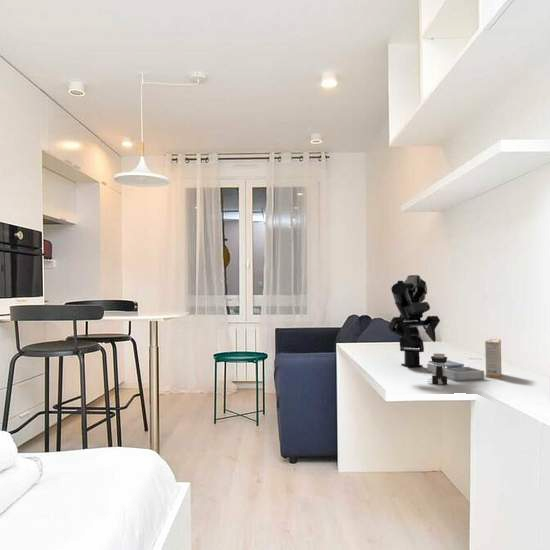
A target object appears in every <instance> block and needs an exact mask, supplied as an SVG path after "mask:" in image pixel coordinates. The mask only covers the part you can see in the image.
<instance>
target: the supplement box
mask: <svg viewBox="0 0 550 550" xmlns="http://www.w3.org/2000/svg"><path fill="white" fill-rule="evenodd" d="M484 343H485V347H484V348H485V350H484V351H485V352H484V353H485V355H484V356H485V376H486V377H487V378H496V379H499V378H501V376H502V340H501V339H500V338H499V339H497V338H487V339H486V340H485V341H484Z"/></svg>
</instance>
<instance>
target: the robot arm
mask: <svg viewBox="0 0 550 550" xmlns="http://www.w3.org/2000/svg"><path fill="white" fill-rule="evenodd" d="M390 289H391V294H392V296H393V299H394V304H395V306H396V309H397V310H398V312H399V314H400V315H399V316H393V317H392V318H391V320H390V322H389V324H388V329H389V331H390V332H391V333H394V334H396V335H398V336H399V351H400V352H403V353H404V354H403V355H404V363H401V366H403V367H407V368H421V367H424V366H423V364H421V363H420V362H421V360H420V359H421V357H420V353H425V348H424V347H425V346H424V340H423V339H422V337H421V334H420V330H419V329H418V328H419V327H422V328H423V329H424V330H425V331H424V332H425V334H426V335H427V336H428V338H430V340H431V341H432V342H434V343H435V342H436V340H437V339H436V328H437V326H438V325H439V324H440V323H441V320H440V318H439V316H438V315H427V316H426V318H425V319H423V320H422V318H423V317H424V315H423V314H424V313H427V312H428V311H430V309H431V306H430V304H429V302H428V301H425V299H426V295H428V286H427V283H426V281H425V280H423V279H422V278H421V276H420V275H419V274H415V275H414V274H412V275H407V277H406V279H405V280H397V282H396V283H394V284H393V285H392V286H391V288H390Z"/></svg>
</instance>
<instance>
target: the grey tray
mask: <svg viewBox="0 0 550 550" xmlns="http://www.w3.org/2000/svg"><path fill="white" fill-rule="evenodd" d="M426 365H427V368H426V370H427V372H428V373H431V374H433V373H434V364H432V363H427V364H426ZM442 370H443V366H442ZM445 374H446V375H443V376H446V377H447V380H451V381H454V382H465V381H466V382H467V381H477V380H478V381H480V380H485V371H484V370H481V369H478V368H474V367H470V366H465V365H464V366H450V367H445Z"/></svg>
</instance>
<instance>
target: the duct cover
mask: <svg viewBox="0 0 550 550" xmlns="http://www.w3.org/2000/svg"><path fill="white" fill-rule="evenodd" d="M428 364H432V365H434V362H432V360H428ZM436 366H437V364H436ZM450 366H464V367H465V364H463V363H462V362H461V363H459V362H456V361H452V360H448V359H447V362H446V363H445V368H447V367H450ZM442 367H443V364H442Z"/></svg>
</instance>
